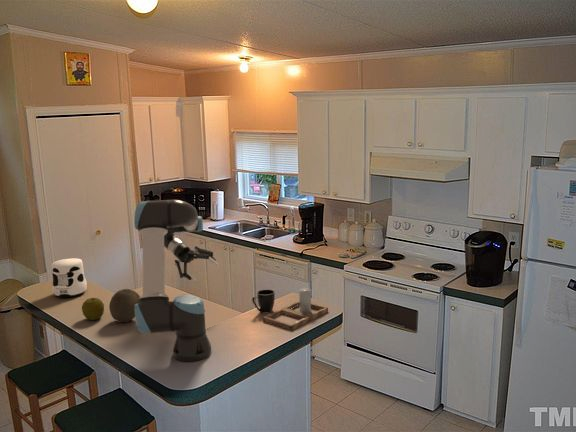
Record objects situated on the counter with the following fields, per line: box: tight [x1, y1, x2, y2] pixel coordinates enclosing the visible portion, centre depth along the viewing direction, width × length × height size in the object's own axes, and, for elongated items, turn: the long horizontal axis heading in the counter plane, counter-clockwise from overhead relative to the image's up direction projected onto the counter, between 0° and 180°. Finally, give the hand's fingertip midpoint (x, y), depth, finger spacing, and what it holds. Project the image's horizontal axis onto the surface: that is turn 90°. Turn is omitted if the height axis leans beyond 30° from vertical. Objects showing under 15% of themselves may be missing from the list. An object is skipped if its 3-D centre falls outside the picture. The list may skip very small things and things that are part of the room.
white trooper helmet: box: [51, 257, 88, 298], centre depth 284 cm, size 17×17×18 cm
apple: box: [81, 297, 105, 321], centre depth 249 cm, size 10×10×11 cm
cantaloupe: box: [108, 288, 141, 323], centre depth 245 cm, size 14×14×15 cm
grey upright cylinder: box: [298, 287, 312, 314], centre depth 250 cm, size 6×6×11 cm
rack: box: [262, 300, 329, 331], centre depth 246 cm, size 27×17×2 cm, turn 140°
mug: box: [251, 288, 276, 313], centre depth 252 cm, size 8×12×10 cm
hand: (207, 273), depth 251 cm, fingers open, 13 cm apart
